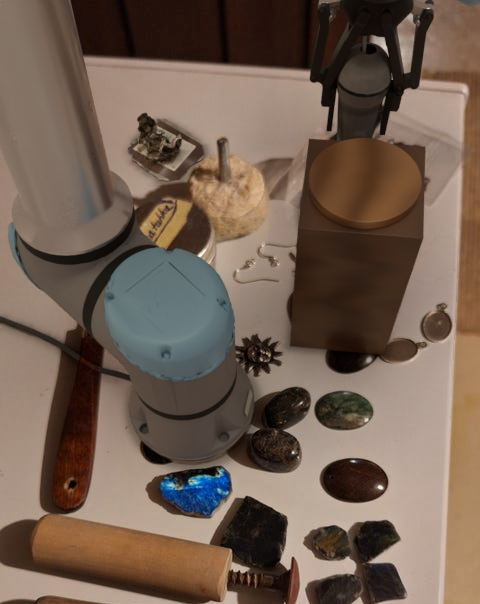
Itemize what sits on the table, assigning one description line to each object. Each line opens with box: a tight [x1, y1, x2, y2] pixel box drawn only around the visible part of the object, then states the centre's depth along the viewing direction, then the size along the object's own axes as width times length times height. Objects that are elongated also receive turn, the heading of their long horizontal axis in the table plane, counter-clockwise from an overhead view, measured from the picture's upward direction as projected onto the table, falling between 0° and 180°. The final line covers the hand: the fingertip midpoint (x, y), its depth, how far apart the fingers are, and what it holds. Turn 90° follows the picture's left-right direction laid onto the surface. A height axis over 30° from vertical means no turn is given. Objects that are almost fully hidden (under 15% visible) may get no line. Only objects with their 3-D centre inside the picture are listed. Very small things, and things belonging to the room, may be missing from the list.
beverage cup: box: [336, 36, 393, 141], centre depth 84 cm, size 7×7×20 cm
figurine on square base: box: [127, 112, 205, 182], centre depth 95 cm, size 12×6×11 cm
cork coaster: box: [308, 138, 422, 229], centre depth 63 cm, size 11×11×1 cm
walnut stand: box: [289, 138, 426, 356], centre depth 73 cm, size 12×12×22 cm
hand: (356, 126), depth 89 cm, fingers closed on beverage cup, 7 cm apart
